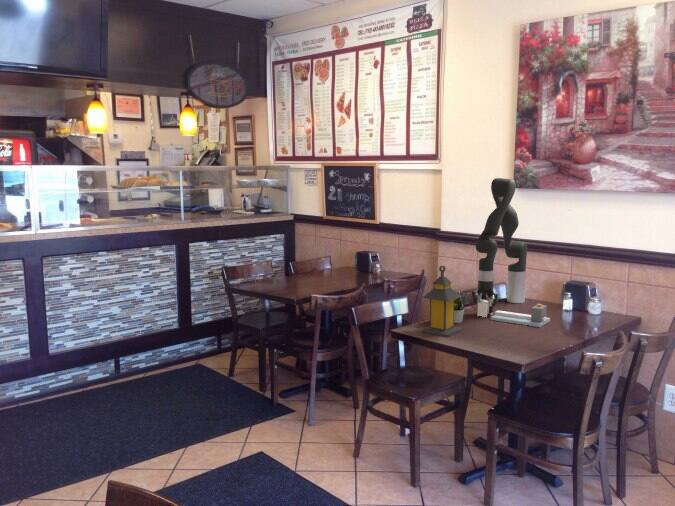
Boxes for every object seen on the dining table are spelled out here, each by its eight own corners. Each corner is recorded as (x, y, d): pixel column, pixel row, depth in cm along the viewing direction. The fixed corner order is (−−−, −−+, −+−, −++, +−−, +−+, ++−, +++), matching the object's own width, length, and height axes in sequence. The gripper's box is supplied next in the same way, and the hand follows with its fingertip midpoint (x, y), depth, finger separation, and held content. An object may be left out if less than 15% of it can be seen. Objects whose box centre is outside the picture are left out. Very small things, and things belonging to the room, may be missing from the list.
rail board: (502, 314, 302) (502, 296, 301) (550, 321, 287) (550, 302, 286) (490, 319, 291) (491, 301, 290) (539, 327, 276) (540, 307, 275)
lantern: (436, 325, 283) (436, 262, 278) (463, 330, 274) (464, 265, 269) (420, 332, 272) (420, 266, 268) (447, 337, 263) (448, 269, 259)
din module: (484, 313, 304) (484, 300, 304) (492, 314, 302) (492, 301, 301) (477, 316, 298) (477, 303, 297) (485, 317, 296) (486, 304, 295)
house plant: (472, 326, 279) (473, 292, 277) (442, 325, 282) (443, 291, 280) (472, 319, 293) (472, 286, 291) (443, 318, 296) (443, 285, 293)
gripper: (502, 279, 296) (501, 313, 298) (475, 276, 305) (475, 309, 307) (496, 282, 290) (495, 316, 292) (469, 278, 299) (468, 312, 301)
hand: (485, 312), depth 300 cm, fingers open, 5 cm apart
